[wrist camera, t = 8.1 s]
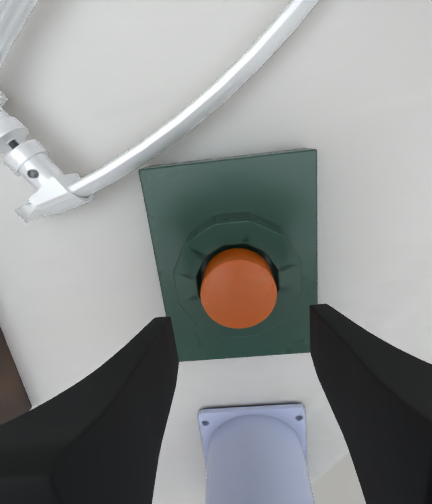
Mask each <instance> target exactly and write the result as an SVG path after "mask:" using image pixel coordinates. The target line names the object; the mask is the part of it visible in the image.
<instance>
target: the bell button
mask: <svg viewBox="0 0 432 504" xmlns="http://www.w3.org/2000/svg"><path fill="white" fill-rule="evenodd" d="M200 297H201V303H202V305H203V308H204V310H205V311H206V313H207V314H208V315H209V316H210V317H211V318H212V319H213V320H214V321H215V322H217V323H219V324H221V325H223V326H226V327H229V328H236V329H240V328H248V327H252V326H254V325H257V324H258V323H260V322H262V321H263V320H264V319H266V318H267V317H268V316H269V314H270V313H271V312H272V310H273V308H274V306H275V304H276V300H277V288H276V284H275V281H274V278H273V275H272V272H271V269H270V267H269V265H268V263H267V262H266V261H265V259H264V258H263V257H261V256H260V255H259V254H257V253H256V252H254V251H251V250H248V249H244V248H232V249H228V250H224V251H222V252H220V253H218V254H217V255H215V256H214V257H213V258H212V259H211V260H210V261H209V263H208V264H207V266H206V268H205V270H204V274H203V279H202V285H201V292H200Z"/></svg>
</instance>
